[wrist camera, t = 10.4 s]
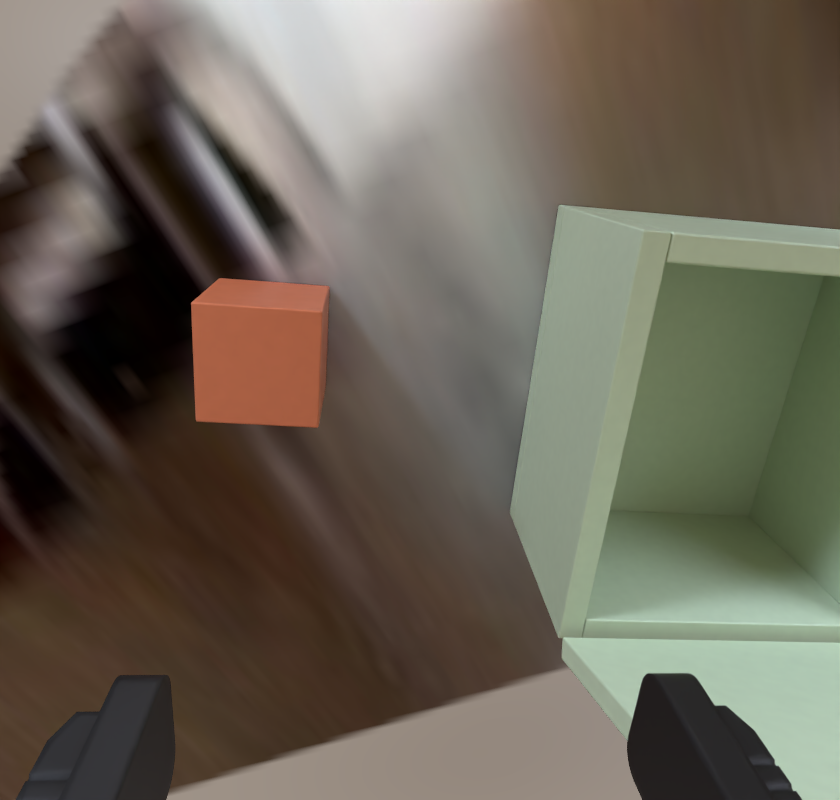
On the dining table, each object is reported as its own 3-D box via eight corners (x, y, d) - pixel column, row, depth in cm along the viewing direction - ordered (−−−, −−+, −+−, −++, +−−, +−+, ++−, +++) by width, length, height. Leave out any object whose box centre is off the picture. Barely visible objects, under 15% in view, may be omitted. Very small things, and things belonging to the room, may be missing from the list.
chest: (558, 204, 27) (642, 229, 18) (843, 229, 28) (1041, 263, 20) (509, 512, 32) (557, 638, 24) (750, 521, 33) (876, 644, 25)
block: (218, 277, 27) (190, 302, 23) (329, 285, 27) (322, 311, 23) (221, 381, 28) (195, 422, 24) (325, 387, 29) (318, 428, 25)
